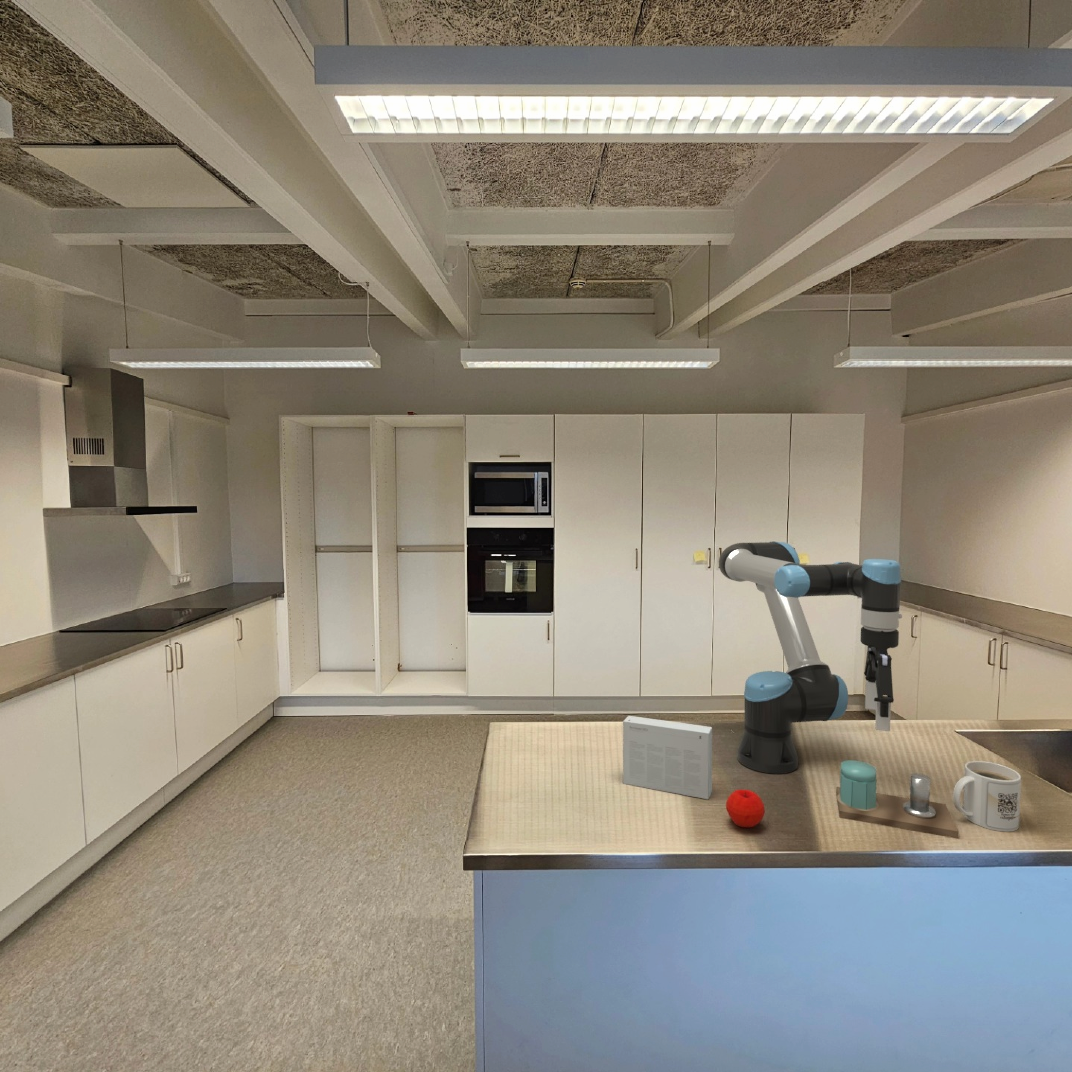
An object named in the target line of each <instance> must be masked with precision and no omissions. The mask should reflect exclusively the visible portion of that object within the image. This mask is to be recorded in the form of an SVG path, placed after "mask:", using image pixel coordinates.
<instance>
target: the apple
mask: <svg viewBox="0 0 1072 1072" xmlns="http://www.w3.org/2000/svg"><path fill="white" fill-rule="evenodd" d="M725 804H726V805H725V808H726V811H727V814H728V815H729V818H730V819H731V820H732V821H733V823H734V824H735V825H736V826H738V827H741V828H754V827H755V826H757V825H758V824H760V822H761V821H762V820H763V819H764V816H765V813H766V810H765V804H764V802H763V801H762V799H761V797H760V796H759V795H758V794H757V793H756V792H754V791H751V790H748V789H736V790H734V791H733V792H731V793H730V795H729V796H728V798H727V799H726V803H725Z"/></svg>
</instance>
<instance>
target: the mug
mask: <svg viewBox="0 0 1072 1072" xmlns="http://www.w3.org/2000/svg"><path fill="white" fill-rule="evenodd" d="M1021 788H1022V776H1021V774H1020V773H1019V772H1018V771H1016V770H1014V769H1013V768H1011V767H1008V766H1005V765H1003V764H999V763H997V762H996V763H995V762H991V761H984V760H974V761H973V760H972V761H967V762H966V763H965V764H964V776H962V777H961V778H960V779H959V780H958V781H957V782H956V783H955V786H954V788H953V792H952V801H953V805H954V807H955V808H956V809H957V811H958V812H960V813H962V814H963V816H964V818H966V819H967V820H969V821H970V822H971V823H973V824H975V825H977V826H979V827H982V828H985V829H988V830H991V831H998V832H1006V833H1007V832H1009V833H1010V832H1015V831H1017V830H1018V829H1019V827H1020V815H1021V812H1020V811H1021V810H1020V809H1021V794H1022V793H1021V790H1022V789H1021ZM962 791H963V803H962V804H963V805H962V804H961V794H962Z"/></svg>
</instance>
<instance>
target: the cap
mask: <svg viewBox="0 0 1072 1072" xmlns="http://www.w3.org/2000/svg"><path fill="white" fill-rule="evenodd" d="M839 777H840V779H839V780H840V781H839V785H840V786H839V787H840V800H841V802H843V803H845V804H847V805H848V806H850V807H853V808H859V809H865V810H867V809H871V808H875V807H876V793H877V768H876V767H875V766H874V765H872V764H870V763H868V762H864V761H861V760H855V759H850V760H849V759H847V760H843V761H842V762H841V763H840V774H839Z"/></svg>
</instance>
